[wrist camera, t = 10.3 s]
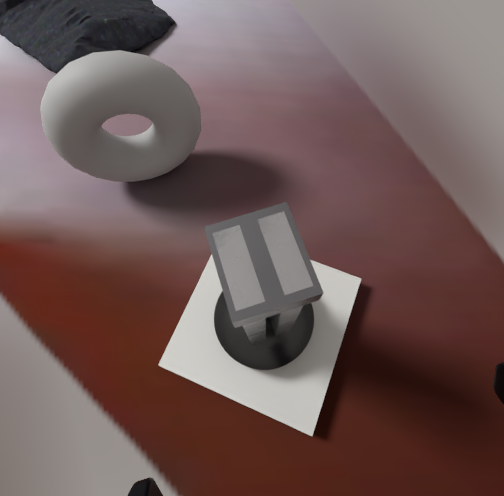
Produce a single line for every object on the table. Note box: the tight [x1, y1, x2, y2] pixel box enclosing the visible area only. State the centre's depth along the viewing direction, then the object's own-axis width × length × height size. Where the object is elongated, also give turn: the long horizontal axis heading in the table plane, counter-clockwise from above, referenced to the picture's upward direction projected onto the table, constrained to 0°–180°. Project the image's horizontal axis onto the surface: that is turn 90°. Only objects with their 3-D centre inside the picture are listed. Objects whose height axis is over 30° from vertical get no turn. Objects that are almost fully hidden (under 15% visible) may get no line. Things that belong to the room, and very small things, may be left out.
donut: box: [40, 50, 201, 182], centre depth 23 cm, size 10×4×10 cm, turn 107°
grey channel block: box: [204, 202, 324, 370], centre depth 16 cm, size 6×6×12 cm
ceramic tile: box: [159, 255, 361, 436], centre depth 22 cm, size 10×10×1 cm
